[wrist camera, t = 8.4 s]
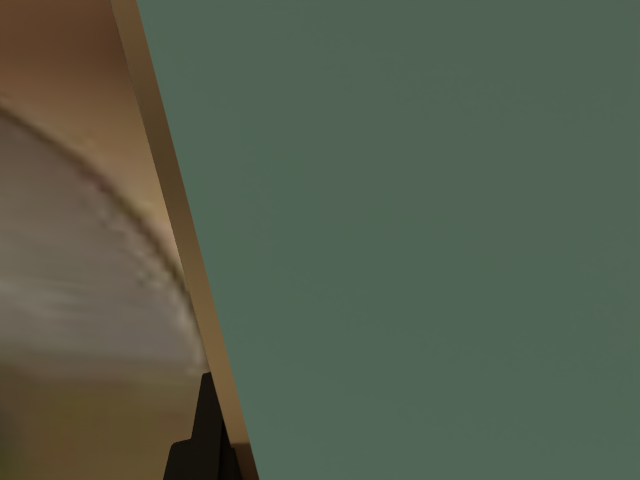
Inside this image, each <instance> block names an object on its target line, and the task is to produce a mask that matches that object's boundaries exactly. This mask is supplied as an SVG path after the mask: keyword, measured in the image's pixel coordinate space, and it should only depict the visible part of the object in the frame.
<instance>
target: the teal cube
mask: <svg viewBox="0 0 640 480" xmlns="http://www.w3.org/2000/svg"><path fill="white" fill-rule="evenodd" d="M136 1H137V5H138V9H139V13H140V16H141V20H142V24H143V28H144V32H145V36H146V40H147V44H148V48H149V51H150V55H151V59H152V63H153V67H154V71H155V75H156V79H157V83H158V87H159V90H160V94H161V98H162V102H163V106H164V110H165V114H166V118H167V122H168V125H169V129H170V133H171V137H172V141H173V145H174V149H175V153H176V157H177V160H178V164H179V168H180V172H181V176H182V180H183V184H184V188H185V192H186V196H187V199H188V203H189V207H190V211H191V215H192V219H193V223H194V227H195V231H196V234H197V238H198V242H199V246H200V250H201V254H202V258H203V262H204V266H205V270H206V273H207V277H208V281H209V285H210V289H211V293H212V297H213V301H214V305H215V308H216V312H217V316H218V320H219V324H220V328H221V332H222V336H223V340H224V344H225V347H226V351H227V355H228V359H229V363H230V367H231V371H232V375H233V379H234V382H235V386H236V390H237V394H238V398H239V402H240V406H241V410H242V414H243V418H244V421H245V425H246V429H247V433H248V437H249V441H250V445H251V449H252V453H253V456H254V460H255V464H256V468H257V472H258V476H259V480H640V0H136Z"/></svg>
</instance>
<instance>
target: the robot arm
mask: <svg viewBox="0 0 640 480" xmlns="http://www.w3.org/2000/svg"><path fill="white" fill-rule="evenodd" d="M163 480H243V479H242V475H241V471H240V468H239V464H238V460H237V456H236V453H235V449H234V448H231V444H230V441H229V437H228V433H227V430H226V426H225V422H224V418H223V415H222V411H221V407H220V404H219V400H218V396H217V393H216V389H215V385H214V381H213V378H212V374H211V372H209V373H204V374H203V375H202V380H201V385H200V391H199V397H198V402H197V408H196V414H195V420H194V425H193V431H192V437H191V439H188V440H184V441H180V442H176V443H174V444H173V445H172V446H171V449H170V452H169V456H168V461H167V465H166V469H165V473H164V478H163Z"/></svg>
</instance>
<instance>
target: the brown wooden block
mask: <svg viewBox="0 0 640 480" xmlns="http://www.w3.org/2000/svg"><path fill="white" fill-rule="evenodd" d="M111 4H112V8H113V12H114V15H115V19H116V23H117V26H118V30H119V34H120V37H121V41H122V45H123V49H124V52H125V56H126V60H127V63H128V67H129V71H130V74H131V78H132V82H133V86H134V89H135V93H136V97H137V100H138V104H139V108H140V111H141V115H142V119H143V123H144V126H145V130H146V134H147V137H148V141H149V145H150V148H151V152H152V156H153V160H154V163H155V167H156V171H157V174H158V178H159V182H160V185H161V189H162V193H163V197H164V200H165V204H166V208H167V211H168V215H169V219H170V222H171V226H172V230H173V234H174V237H175V241H176V245H177V248H178V252H179V256H180V259H181V263H182V267H183V270H184V274H185V278H186V282H187V285H188V289H189V293H190V296H191V300H192V304H193V307H194V311H195V315H196V319H197V322H198V326H199V330H200V333H201V337H202V341H203V344H204V348H205V352H206V356H207V359H208V363H209V367H210V370H211V374H212V378H213V381H214V385H215V389H216V393H217V396H218V400H219V404H220V407H221V411H222V415H223V418H224V422H225V426H226V430H227V433H228V437H229V441H230V444H231V448H234V449H235V453H236V456H237V460H238V464H239V468H240V471H241V475H242V479H243V480H259V476H258V472H257V468H256V464H255V460H254V456H253V453H252V449H251V445H250V441H249V437H248V433H247V429H246V425H245V421H244V418H243V414H242V410H241V406H240V402H239V398H238V394H237V390H236V386H235V382H234V379H233V375H232V371H231V367H230V363H229V359H228V355H227V351H226V347H225V344H224V340H223V336H222V332H221V328H220V324H219V320H218V316H217V312H216V308H215V305H214V301H213V297H212V293H211V289H210V285H209V281H208V277H207V273H206V270H205V266H204V262H203V258H202V254H201V250H200V246H199V242H198V238H197V234H196V231H195V227H194V223H193V219H192V215H191V211H190V207H189V203H188V199H187V196H186V192H185V188H184V184H183V180H182V176H181V172H180V168H179V164H178V160H177V157H176V153H175V149H174V145H173V141H172V137H171V133H170V129H169V125H168V122H167V118H166V114H165V110H164V106H163V102H162V98H161V94H160V90H159V87H158V83H157V79H156V75H155V71H154V67H153V63H152V59H151V55H150V51H149V48H148V44H147V40H146V36H145V32H144V28H143V24H142V20H141V16H140V13H139V9H138V5H137V1H136V0H111Z"/></svg>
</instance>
